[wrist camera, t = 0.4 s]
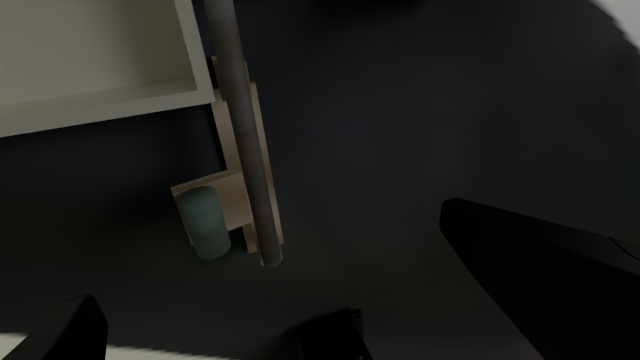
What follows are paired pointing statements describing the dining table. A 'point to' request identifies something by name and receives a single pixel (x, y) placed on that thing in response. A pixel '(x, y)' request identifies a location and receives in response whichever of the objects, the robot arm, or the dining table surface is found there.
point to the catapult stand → (233, 157)
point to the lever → (228, 186)
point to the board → (97, 61)
